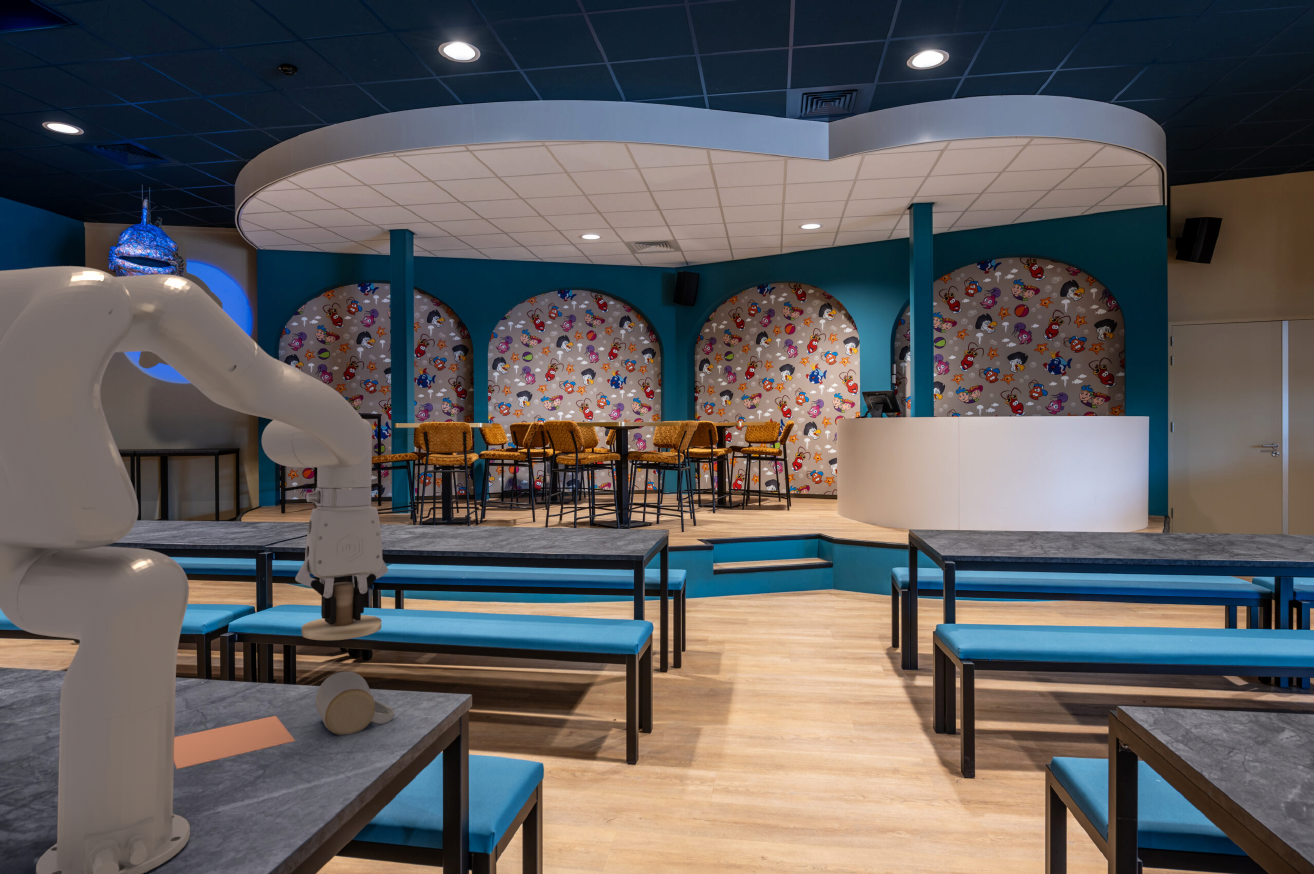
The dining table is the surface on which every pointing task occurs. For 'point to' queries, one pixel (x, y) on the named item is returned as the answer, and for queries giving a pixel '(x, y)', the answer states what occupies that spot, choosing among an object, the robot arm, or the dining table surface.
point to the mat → (229, 741)
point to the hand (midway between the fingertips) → (342, 619)
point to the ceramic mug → (349, 704)
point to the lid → (342, 619)
